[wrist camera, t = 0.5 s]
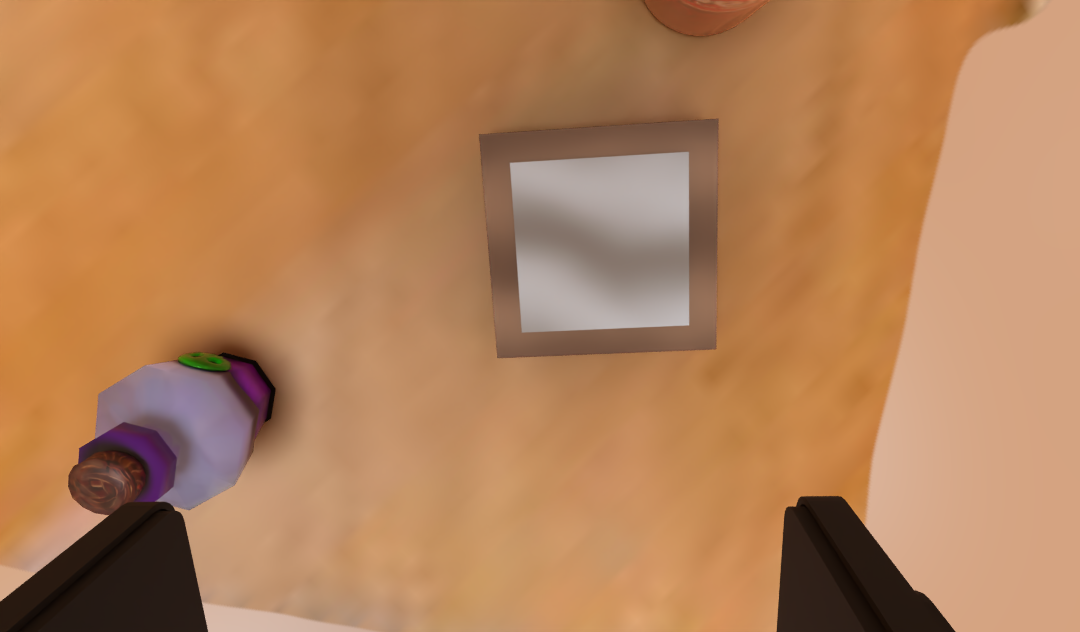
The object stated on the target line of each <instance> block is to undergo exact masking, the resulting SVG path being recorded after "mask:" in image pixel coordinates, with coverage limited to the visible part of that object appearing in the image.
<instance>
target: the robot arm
mask: <svg viewBox="0 0 1080 632" xmlns="http://www.w3.org/2000/svg"><path fill="white" fill-rule="evenodd" d="M0 632H208V629H207V625H206V620H205V615H204V610H203V606H202V601H201V596H200V592H199V587H198V582H197V578H196V573H195V568H194V564H193V559H192V554H191V550H190V545H189V540H188V536H187V531H186V526H185V522H184V518H183V516H182V514H181V513H180V512H178V511H175V509H174V507H173V506H172V505H171V504H170V503H168V502H127V503H126V504H124V505H122V506H121V507H119V508H118V509H117V510H116V511H114V512H113V513H112V514H111V515H109V516H108V517H107V518H105V519H104V520H103V521H102V522H100V523H99V524H98V525H97V526H95V527H94V528H93V529H92V530H90V531H89V532H88V533H86V534H85V535H84V536H83V537H81V538H80V539H79V540H78V541H76V542H75V543H74V544H73V545H71V546H70V547H69V548H68V549H66V550H65V551H64V552H62V553H61V554H60V555H59V556H57V557H56V558H55V559H54V560H52V561H51V562H50V563H49V564H47V565H46V566H45V567H43V568H42V569H41V570H40V571H38V572H37V573H36V574H35V575H33V576H32V577H31V578H30V579H28V580H27V581H26V582H25V583H24V584H22V585H21V586H20V587H18V588H17V589H16V590H15V591H13V592H12V593H11V594H9V595H8V596H7V597H6V598H4V599H3V600H2V601H0ZM777 632H955V631H954V629H953V628H952V627H951V625H950V624H949V623H948V622H947V620H946V619H945V618H944V617H943V615H942V614H941V613H940V611H939V610H938V609H937V608H936V606H935V605H934V604H933V603H932V601H931V600H930V599H929V598H928V597H927V596H925V594H923V593H921V592H918V591H914V590H913V589H912V587H911V586H910V585H909V583H908V582H907V581H906V579H905V578H904V577H903V575H902V574H901V573H900V571H899V570H898V569H897V568H896V566H895V565H894V564H893V562H892V561H891V560H890V558H889V557H888V556H887V554H886V553H885V552H884V551H883V549H882V548H881V547H880V545H879V544H878V543H877V541H876V540H875V539H874V538H873V536H872V535H871V534H870V532H869V531H868V530H867V528H866V527H865V526H864V524H863V523H862V522H861V520H860V519H859V518H858V516H857V515H856V514H855V512H854V511H853V510H852V509H851V507H850V506H849V505H848V503H847V502H846V501H845V500H844V499H843V498H842V497H839V496H804V497H800V498H799V499H798V502H797V506H796V507H787V508H786V511H785V516H784V529H783V545H782V560H781V575H780V590H779V605H778V620H777Z"/></svg>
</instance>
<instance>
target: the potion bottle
mask: <svg viewBox="0 0 1080 632" xmlns="http://www.w3.org/2000/svg"><path fill="white" fill-rule="evenodd" d="M274 396H275V387H274V386H273V385H272V383H271V382H270V380H269V379H268V378H267V376H266V375H265V373H264V372H263V370H262V369H261V368H260V366H259V365H258V363H257V362H256V361H253V360H250V359H246V358H242V357H238V356H235V355H231V354H227V353H221V354H220V355H218V356H217V355H215V354H211V353H203V352H195V353H188V354H184V355H181V356H180V357H179V358H178V360H175V361H169V362H163V363H157V364H151V365H145V366H143V367H142V368H140V369H138V370H137V371H135V372H134V373H132V374H130V375H129V376H127V377H125V378H124V379H122V380H121V381H119V382H117V383H116V384H114V385H112V386H111V387H109V388H108V389H106V390H104V391H103V392H101V393H99V396H98V409H97V421H96V433H95V439H94V440H92V441H91V442H89V443H87V444H86V445H84V446H82V447H81V448H79V461H78V464H77V465H75V466H74V467H73V468H72V470H71V472H70V474H69V480H68V487H69V490H70V493H71V495H72V498H73V499H74V500H75V501H77V502H78V503H79V504H80V505H81V506H82V507H84V508H86V509H88V510H90V511H92V512H94V513H98V514H104V515H111V514H112V513H113V512H114V511H116V510H117V509H118V508H119V507H121V506H122V505H124V504H126V503H127V502H155V501H156V502H168V503H170V504H171V505H172V506H175V507H178V508H182V509H186V510H191V509H192V508H194V507H196V506H198V505H200V504H201V503H203V502H205V501H207V500H209V499H210V498H212V497H214V496H216V495H218V494H220V493H221V492H223V491H225V490H227V489H229V488H230V487H232V486H234V485H235V484H236V482H237V480H238V478H239V476H240V475H241V473H242V471H243V469H244V467H245V465H246V463H247V462H248V460H249V458H250V456H251V454H252V452H253V447H254V440H255V438H256V436H257V434H258V432H259V431H260V429H261V427H262V425H263V423H264V422H266V421H268V420H269V419H271V414H272V408H273V402H274Z"/></svg>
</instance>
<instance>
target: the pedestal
mask: <svg viewBox="0 0 1080 632" xmlns="http://www.w3.org/2000/svg"><path fill="white" fill-rule="evenodd" d="M479 139H480V151H481V164H482V176H483V188H484V200H485V213H486V225H487V237H488V249H489V261H490V274H491V286H492V298H493V310H494V323H495V335H496V347H497V358H513V357H538V356H562V355H587V354H612V353H636V352H661V351H686V350H710V349H716V321H717V212H718V119H706V120H691V121H676V122H661V123H645V124H630V125H615V126H600V127H585V128H569V129H554V130H539V131H524V132H508V133H493V134H479Z"/></svg>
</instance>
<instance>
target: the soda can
mask: <svg viewBox="0 0 1080 632" xmlns="http://www.w3.org/2000/svg"><path fill="white" fill-rule="evenodd" d="M769 1H770V0H644V2H645V4H646V5H647V7H648V9H649V10H650V11H651V12H652V14H653V15H654V16H655V17H656V18H657V19H658V20H659V21H660V22H662V23H663V24H664V25H666V26H667V27H669V28H671V29H673V30H675V31H677V32H679V33H683V34H687V35H692V36H709V35H714V34H719V33H722V32H724V31H727V30H729V29H732V28H734V27H735V26H737V25H738V24H740V23H741V22H743V21H744V20H746V19H747V18H748V17H750V16H751V15H752V14H753V13H755V12H756V11H757V10H759V9H760V8H761V7H762V6H764V5H765V4H766V3H767V2H769Z"/></svg>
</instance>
